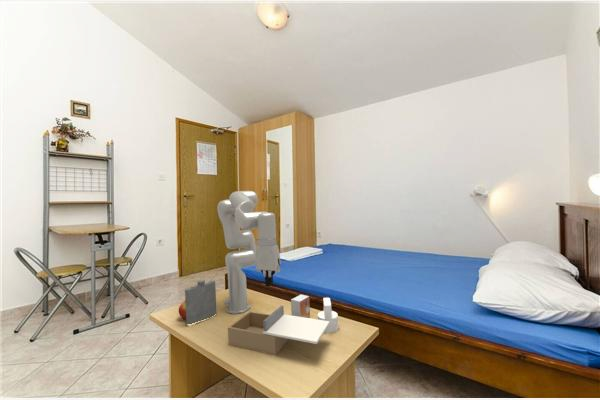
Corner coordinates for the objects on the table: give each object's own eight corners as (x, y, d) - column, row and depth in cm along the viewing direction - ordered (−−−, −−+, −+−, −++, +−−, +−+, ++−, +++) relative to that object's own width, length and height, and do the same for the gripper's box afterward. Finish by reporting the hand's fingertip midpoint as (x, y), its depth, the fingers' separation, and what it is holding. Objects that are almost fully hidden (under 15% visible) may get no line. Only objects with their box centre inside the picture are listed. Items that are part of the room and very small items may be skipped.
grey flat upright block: (214, 312, 140) (212, 275, 139) (218, 314, 137) (217, 276, 137) (185, 325, 127) (183, 284, 127) (189, 327, 125) (187, 285, 125)
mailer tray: (228, 344, 109) (227, 327, 109) (250, 326, 124) (249, 311, 123) (275, 354, 100) (274, 336, 100) (292, 333, 115) (292, 318, 115)
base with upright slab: (317, 323, 124) (316, 297, 123) (337, 322, 123) (336, 297, 123) (318, 333, 115) (317, 305, 114) (339, 332, 114) (338, 305, 114)
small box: (300, 323, 124) (299, 301, 124) (291, 320, 127) (290, 299, 127) (310, 317, 130) (309, 296, 130) (301, 314, 133) (300, 293, 133)
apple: (197, 318, 134) (196, 299, 134) (180, 323, 129) (179, 303, 129) (194, 313, 141) (193, 294, 140) (177, 317, 136) (176, 298, 136)
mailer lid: (263, 333, 102) (262, 321, 102) (281, 315, 117) (281, 305, 117) (316, 344, 93) (316, 330, 93) (329, 323, 108) (329, 311, 108)
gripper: (247, 243, 110) (249, 286, 111) (278, 244, 104) (280, 290, 105) (257, 240, 117) (259, 281, 117) (287, 241, 111) (289, 284, 111)
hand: (269, 285), depth 111 cm, fingers closed
